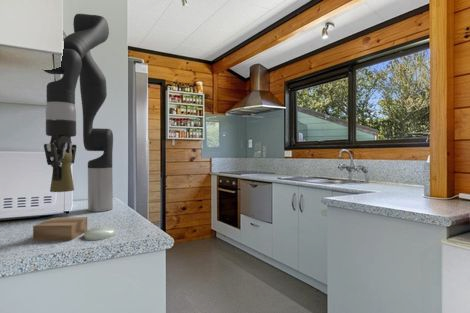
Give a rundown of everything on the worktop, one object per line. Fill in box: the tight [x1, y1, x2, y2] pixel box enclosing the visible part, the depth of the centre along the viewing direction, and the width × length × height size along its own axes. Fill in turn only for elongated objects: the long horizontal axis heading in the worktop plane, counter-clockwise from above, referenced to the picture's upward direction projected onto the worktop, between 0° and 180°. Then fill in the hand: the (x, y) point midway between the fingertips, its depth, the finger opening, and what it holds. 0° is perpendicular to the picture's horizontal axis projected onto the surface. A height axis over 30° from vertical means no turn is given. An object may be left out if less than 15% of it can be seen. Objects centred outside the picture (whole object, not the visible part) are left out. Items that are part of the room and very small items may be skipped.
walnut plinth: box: [32, 216, 88, 242], centre depth 86 cm, size 10×10×4 cm
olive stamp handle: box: [49, 153, 75, 193], centre depth 86 cm, size 6×6×11 cm
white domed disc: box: [83, 226, 116, 241], centre depth 86 cm, size 8×8×2 cm
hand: (61, 179), depth 86 cm, fingers closed on olive stamp handle, 4 cm apart
